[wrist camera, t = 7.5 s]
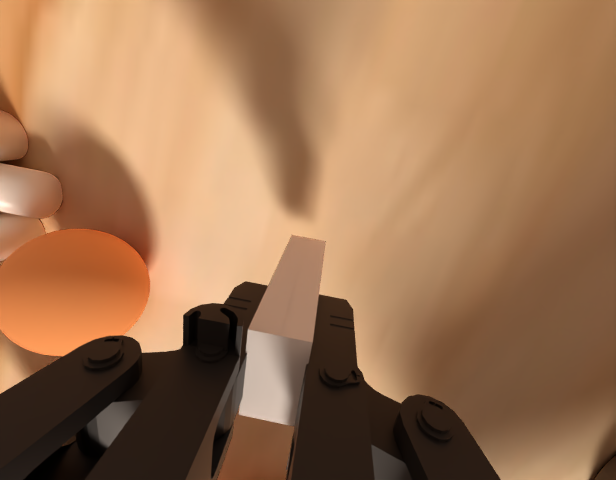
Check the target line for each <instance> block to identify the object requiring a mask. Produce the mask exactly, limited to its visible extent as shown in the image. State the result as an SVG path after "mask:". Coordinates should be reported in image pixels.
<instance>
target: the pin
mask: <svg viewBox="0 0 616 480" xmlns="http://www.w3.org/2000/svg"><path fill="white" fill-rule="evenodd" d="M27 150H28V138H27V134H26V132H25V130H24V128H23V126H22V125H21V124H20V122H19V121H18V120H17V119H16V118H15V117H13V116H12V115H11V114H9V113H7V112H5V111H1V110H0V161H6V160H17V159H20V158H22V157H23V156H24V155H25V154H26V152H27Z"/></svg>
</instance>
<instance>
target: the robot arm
mask: <svg viewBox="0 0 616 480" xmlns="http://www.w3.org/2000/svg"><path fill="white" fill-rule="evenodd" d="M325 242H326V241H321V240H316V239H311V238H305V237H300V236H295V235H292V236H291V238H290V240H289V242H288V244H287V246H286V248H285V251H284V253H283V255H282V257H281V259H280V261H279V264H278V266H277V268H276V270H275V272H274V274H273V276H272V279H271V281H270V283H269V285H268V286H267V285H261V284H256V283H251V282H246V281H245V282H244V283H242V284H240V285H238V286H237V287H235V288H234V289H233V291H232V292H231V294H230V295H229V298H227V300H226V301H225V303H224V304H216V303H211V304H204V305H200V306H197V307H195V308H192V309H190V310H189V311H188V312H187V313H185V314H184V315H183V346H182V347H181V349H179V350H175V351H168V352H152V353H142V352H141V347H140V344H139V343H138V342H137V341H136V340H135V339H133V338H131V337H127V336H123V335H117V336H106V337H102V338H98V339H94V340H92V341H90V342H88V343H85V344H83V345H81V346H80V347H78V348H76V349H75V350H73V351H71V352H70V353H68V354H66V355H65V356H63V357H61V358H60V359H58V360H56V361H55V362H53V363H51V364H50V365H48V366H46V367H45V368H43V369H41V370H40V371H38V372H36V373H35V374H33V375H31V376H30V377H28V378H26V379H24V380H23V381H21V382H19V383H18V384H16V385H14V386H13V387H11V388H9V389H8V390H6V391H4V392H3V393H1V394H0V480H217V478H218V475H219V472H220V469H221V466H222V464H223V461H224V458H225V455H226V452H227V449H228V446H229V444H230V441H231V438H232V433H233V426H234V419H235V416H236V413H237V411H238V408H239V405H240V409H239V415H242V416H247V417H252V418H257V419H261V420H266V421H271V422H275V423H280V424H285V425H290V426H294V427H295V428H294V434H293V439H292V444H291V449H290V453H289V458H288V463H287V468H286V470H287V474H286V480H500V478H499V476H498V475H497V473H496V472H495V470H494V469H493V467H492V466H491V464H490V463H489V461H488V460H487V458H486V457H485V455H484V454H483V452H482V450H481V449H480V447H479V446H478V444H477V443H476V441H475V440H474V438H473V437H472V435H471V434H470V432H469V431H468V429H467V427H466V426H465V424H464V423H463V422H462V420H461V419H460V418H459V417H458V416H457V415H456V413H455V412H454V411H453V410H451V409H450V408H449V407H447V406H446V405H445V404H444V403H442V402H440V401H438V400H436V399H434V398H432V397H429V396H423V395H414V396H409V397H407V398H406V399H405V400H404V401H403V402H402V404H400V403H398V402H396V401H394V400H392V399H390V398H388V397H386V396H384V395H382V394H380V393H379V392H377V391H375V390H374V389H373V388H372V387H370V386H369V385H368V384H367V383H366V382H365V380H364V377H363V374H362V372H361V371H360V370H359V368H358V366H357V356H356V343H355V331H354V322H353V321H354V317H353V309H352V307H351V306H350V305H349V303H348V302H347V300H344V299H339V298H334V297H329V296H324V295H319V289H320V281H321V274H322V266H323V258H324V250H325ZM594 480H616V455H615V456H614V457H613V458H612V459H611V460H610V461H609V462H608V463H607V464H606V465H605V466H604V467H603V468H602V469H601V471H600V472H599V473H598V475H597V476H596V478H595V479H594Z"/></svg>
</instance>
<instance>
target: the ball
mask: <svg viewBox="0 0 616 480" xmlns="http://www.w3.org/2000/svg"><path fill="white" fill-rule="evenodd" d="M149 292H150V279H149V274H148V270H147V267H146V265H145V263H144V261H143V259H142V258H141V256H140V255H139V254H138V253H137V251H136V250H135V249H133V248H132V247H131V246H130V245H129V244H128V243H126V242H125V241H123V240H122V239H120V238H118V237H116V236H114V235H111V234H109V233H105V232H102V231H98V230H91V229H65V230H59V231H54V232H50V233H47V234H44V235H41V236H39V237H37V238H34V239H32V240H30V241H29V242H27V243H25V244H24V245H22V246H20V247H19V248H18V249H17V250H15V251H14V252H13V253H12V254H11V255H10V256H9V257H8V258H7V259H6V260H5V261H4V262H3V264H2V265H1V266H0V330H1V331H2V332H3V333H4V334H5V335H6V337H7V338H9V339H10V340H11V341H12V342H14V343H15V344H17V345H19V346H20V347H22V348H25V349H27V350H30V351H33V352H36V353H39V354H44V355H52V356H65V355H66V354H68V353H70V352H71V351H73V350H75V349H76V348H78V347H80V346H81V345H83V344H85V343H88V342H90V341H92V340H94V339H98V338H102V337H106V336H117V335H124V334H125V333H126V332H127V331H129V329H130V328H131V327H132V326H133V325H134V324H135V323H136V322H137V320H138V319H139V318H140V316H141V314H142V313H143V311H144V309H145V307H146V304H147V301H148V297H149Z"/></svg>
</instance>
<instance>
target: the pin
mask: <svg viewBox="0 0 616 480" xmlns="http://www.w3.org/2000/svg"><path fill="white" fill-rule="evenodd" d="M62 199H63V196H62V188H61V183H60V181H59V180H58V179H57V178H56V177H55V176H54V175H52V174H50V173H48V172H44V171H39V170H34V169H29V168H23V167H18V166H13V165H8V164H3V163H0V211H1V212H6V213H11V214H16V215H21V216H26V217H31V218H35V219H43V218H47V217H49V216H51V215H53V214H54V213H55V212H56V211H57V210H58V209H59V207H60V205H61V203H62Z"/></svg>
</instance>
